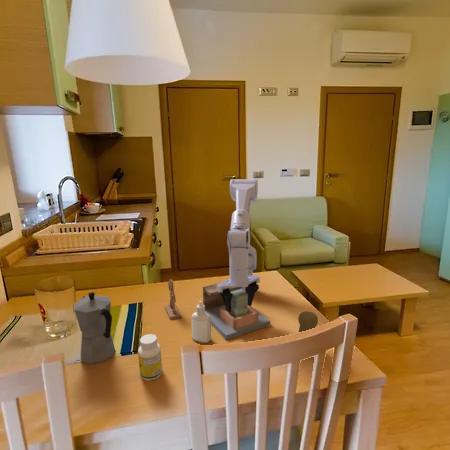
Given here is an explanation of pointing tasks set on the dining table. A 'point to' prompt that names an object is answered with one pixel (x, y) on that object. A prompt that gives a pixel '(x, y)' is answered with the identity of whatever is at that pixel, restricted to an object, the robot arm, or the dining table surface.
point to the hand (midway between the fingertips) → (238, 307)
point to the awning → (213, 296)
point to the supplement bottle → (149, 357)
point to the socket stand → (236, 321)
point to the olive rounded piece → (307, 320)
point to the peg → (239, 303)
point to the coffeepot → (95, 328)
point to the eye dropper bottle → (201, 324)
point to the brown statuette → (172, 304)
